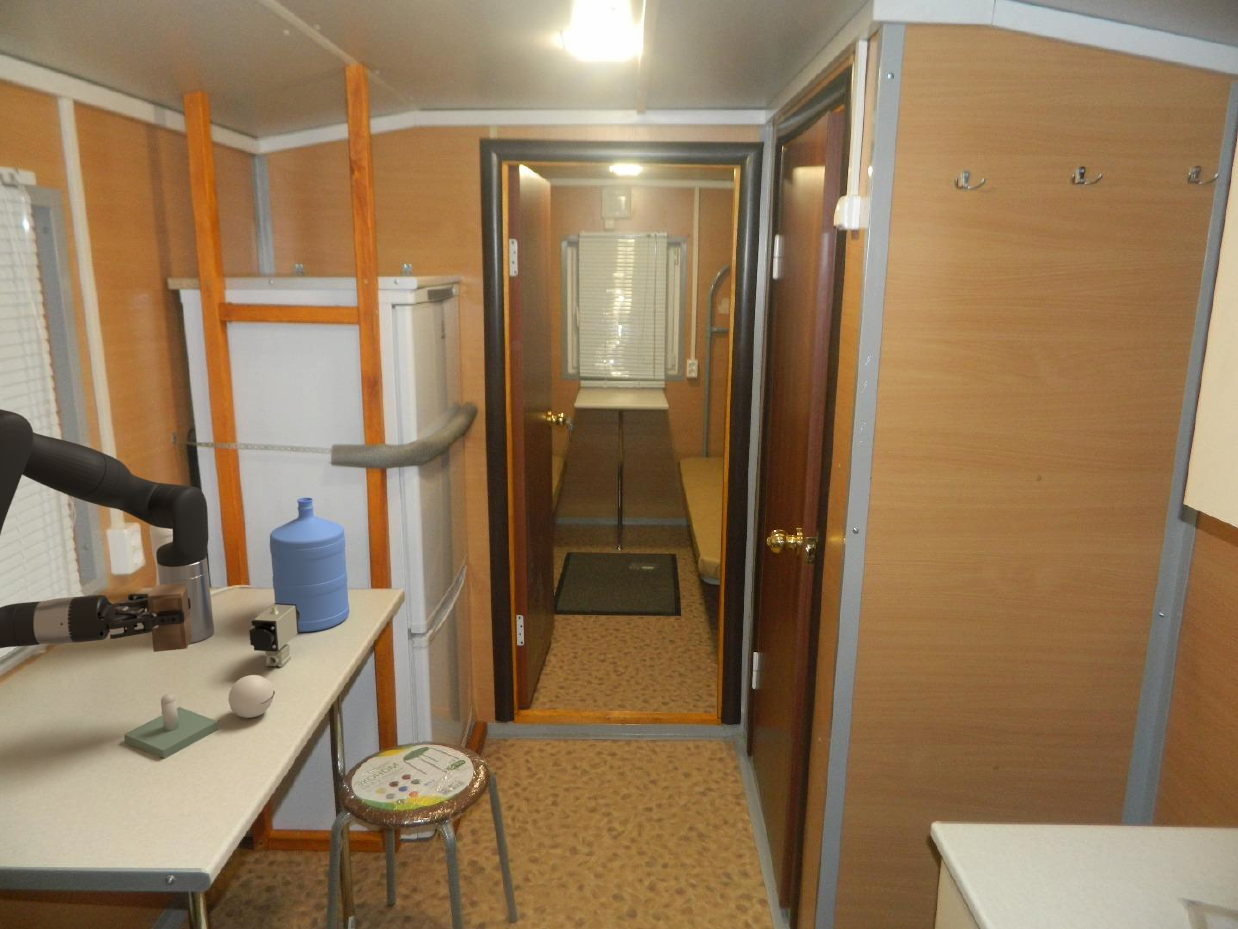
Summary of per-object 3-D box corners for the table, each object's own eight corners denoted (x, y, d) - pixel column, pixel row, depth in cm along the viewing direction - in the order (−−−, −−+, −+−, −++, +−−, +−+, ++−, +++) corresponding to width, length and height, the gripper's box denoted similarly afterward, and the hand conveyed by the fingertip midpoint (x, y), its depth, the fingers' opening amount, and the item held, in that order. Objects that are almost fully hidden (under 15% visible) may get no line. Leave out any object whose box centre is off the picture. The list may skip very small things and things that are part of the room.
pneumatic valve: (303, 650, 171) (299, 596, 168) (275, 677, 160) (270, 620, 157) (278, 649, 172) (273, 595, 169) (248, 675, 160) (242, 618, 157)
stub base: (125, 742, 137) (119, 700, 136) (179, 714, 146) (175, 675, 144) (164, 758, 133) (159, 716, 131) (218, 729, 142) (214, 689, 140)
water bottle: (198, 593, 199) (187, 494, 193) (173, 604, 192) (161, 501, 187) (175, 589, 201) (164, 490, 196) (150, 600, 195) (137, 498, 189)
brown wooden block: (153, 652, 139) (147, 596, 137) (159, 639, 144) (154, 585, 141) (186, 648, 140) (181, 593, 138) (191, 636, 145) (186, 583, 143)
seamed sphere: (255, 729, 142) (251, 690, 140) (220, 721, 144) (216, 683, 142) (294, 701, 151) (292, 665, 149) (261, 694, 153) (258, 658, 152)
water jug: (335, 634, 179) (327, 510, 172) (263, 632, 179) (253, 508, 173) (358, 605, 194) (352, 491, 188) (292, 604, 194) (283, 489, 188)
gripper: (56, 615, 129) (177, 605, 134) (83, 583, 142) (192, 574, 147) (62, 660, 131) (181, 648, 136) (88, 623, 144) (196, 613, 149)
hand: (186, 609), depth 141 cm, fingers closed on brown wooden block, 5 cm apart
